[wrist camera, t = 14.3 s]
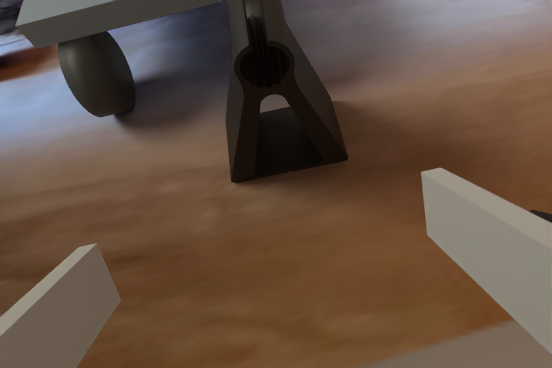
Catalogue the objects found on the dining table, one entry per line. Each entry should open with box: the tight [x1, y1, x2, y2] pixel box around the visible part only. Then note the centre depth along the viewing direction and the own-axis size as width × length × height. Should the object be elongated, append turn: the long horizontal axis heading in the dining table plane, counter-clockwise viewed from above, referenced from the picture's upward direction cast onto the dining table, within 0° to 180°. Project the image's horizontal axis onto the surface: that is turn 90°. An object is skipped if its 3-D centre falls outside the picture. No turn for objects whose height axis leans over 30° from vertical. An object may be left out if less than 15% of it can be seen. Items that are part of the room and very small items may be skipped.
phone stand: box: [226, 0, 348, 183], centre depth 22 cm, size 9×6×12 cm, turn 98°
